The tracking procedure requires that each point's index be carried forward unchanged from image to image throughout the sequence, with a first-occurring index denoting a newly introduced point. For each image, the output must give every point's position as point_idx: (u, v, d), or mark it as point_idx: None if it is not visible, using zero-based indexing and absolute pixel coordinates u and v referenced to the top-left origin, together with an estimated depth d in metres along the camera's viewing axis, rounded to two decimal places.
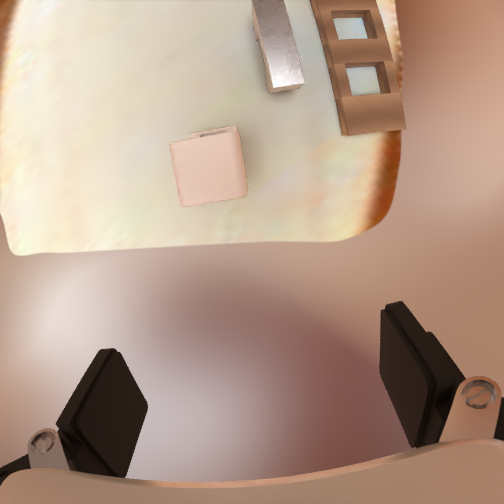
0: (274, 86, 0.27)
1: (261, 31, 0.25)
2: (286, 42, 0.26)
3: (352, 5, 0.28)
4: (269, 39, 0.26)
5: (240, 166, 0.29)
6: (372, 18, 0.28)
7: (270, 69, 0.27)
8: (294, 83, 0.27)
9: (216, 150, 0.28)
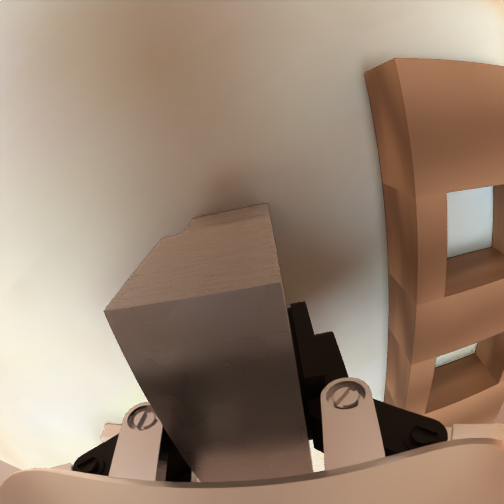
0: None
1: (182, 450, 0.06)
2: (281, 475, 0.07)
3: (503, 167, 0.09)
4: (216, 471, 0.07)
5: None
6: None
7: None
8: None
9: None
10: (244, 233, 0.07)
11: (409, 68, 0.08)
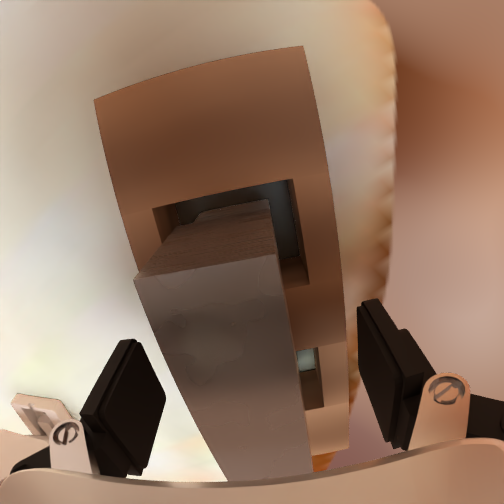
0: None
1: (192, 409, 0.08)
2: (279, 436, 0.08)
3: (228, 171, 0.11)
4: (221, 431, 0.08)
5: None
6: (300, 211, 0.11)
7: (230, 479, 0.09)
8: None
9: None
10: (247, 221, 0.09)
11: (106, 104, 0.10)
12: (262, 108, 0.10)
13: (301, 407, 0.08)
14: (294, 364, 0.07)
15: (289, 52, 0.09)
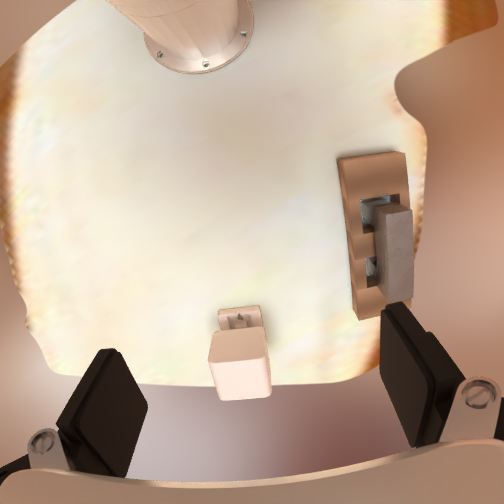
0: (390, 302, 0.33)
1: (389, 252, 0.31)
2: (407, 262, 0.31)
3: (383, 190, 0.33)
4: (394, 260, 0.31)
5: (267, 377, 0.34)
6: (400, 203, 0.34)
7: (389, 288, 0.32)
8: (405, 298, 0.33)
9: (249, 370, 0.33)
10: (395, 204, 0.32)
11: (347, 163, 0.32)
12: (393, 172, 0.33)
13: (413, 250, 0.31)
14: None
15: (401, 155, 0.32)
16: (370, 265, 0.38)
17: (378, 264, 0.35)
